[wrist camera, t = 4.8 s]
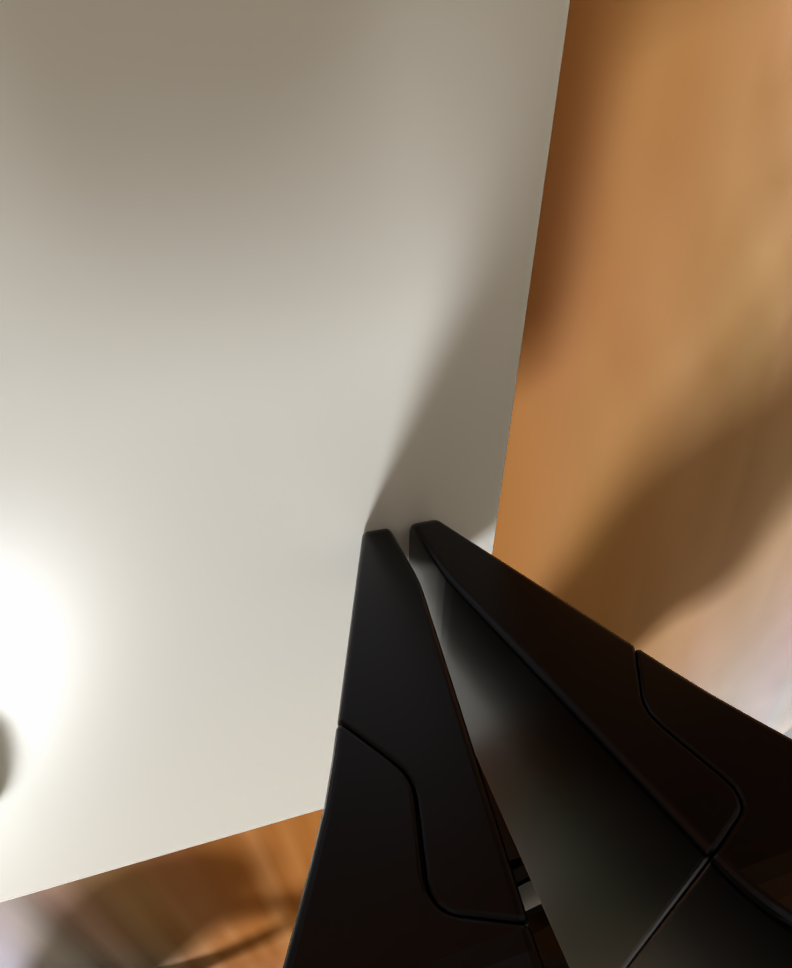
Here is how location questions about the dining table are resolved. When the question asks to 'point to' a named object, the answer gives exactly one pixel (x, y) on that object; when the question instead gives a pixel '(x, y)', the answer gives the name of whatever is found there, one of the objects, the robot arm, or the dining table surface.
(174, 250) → the deck
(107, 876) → the dining table surface
